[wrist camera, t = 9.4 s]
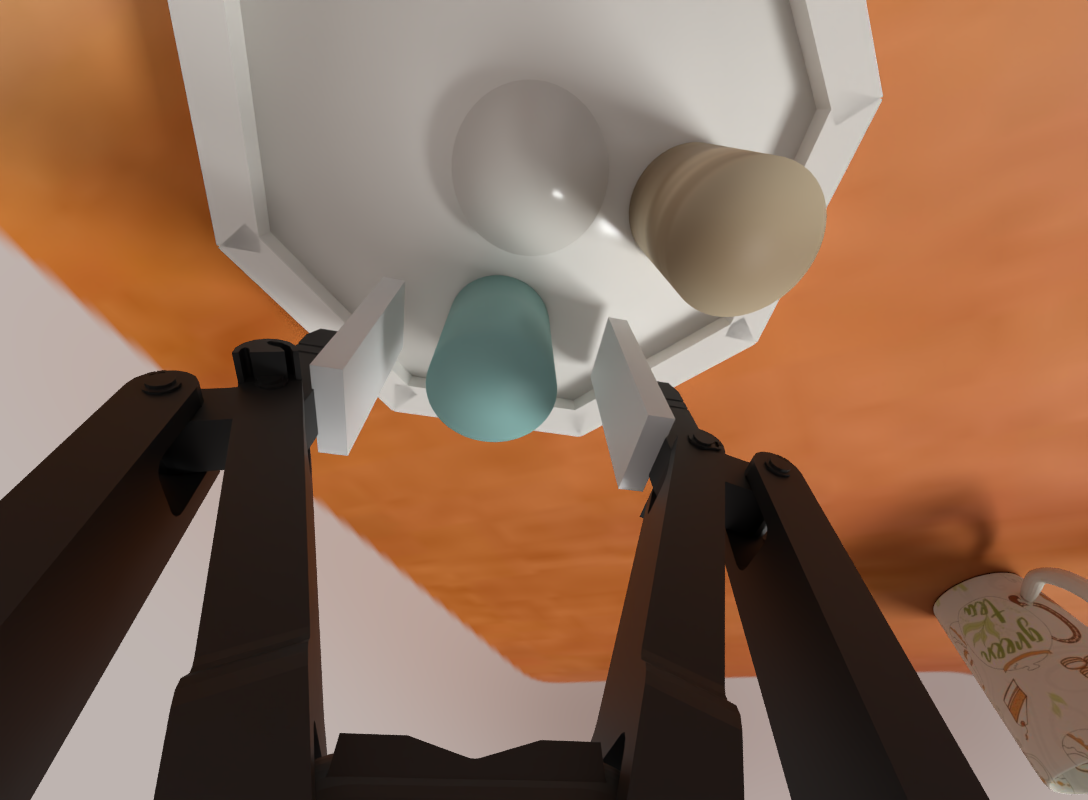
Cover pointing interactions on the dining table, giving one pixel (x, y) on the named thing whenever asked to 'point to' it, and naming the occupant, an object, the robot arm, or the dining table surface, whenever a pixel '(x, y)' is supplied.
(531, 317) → the teal bead
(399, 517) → the dining table surface
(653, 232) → the beige wooden cylinder
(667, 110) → the groove tray
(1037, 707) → the mug
